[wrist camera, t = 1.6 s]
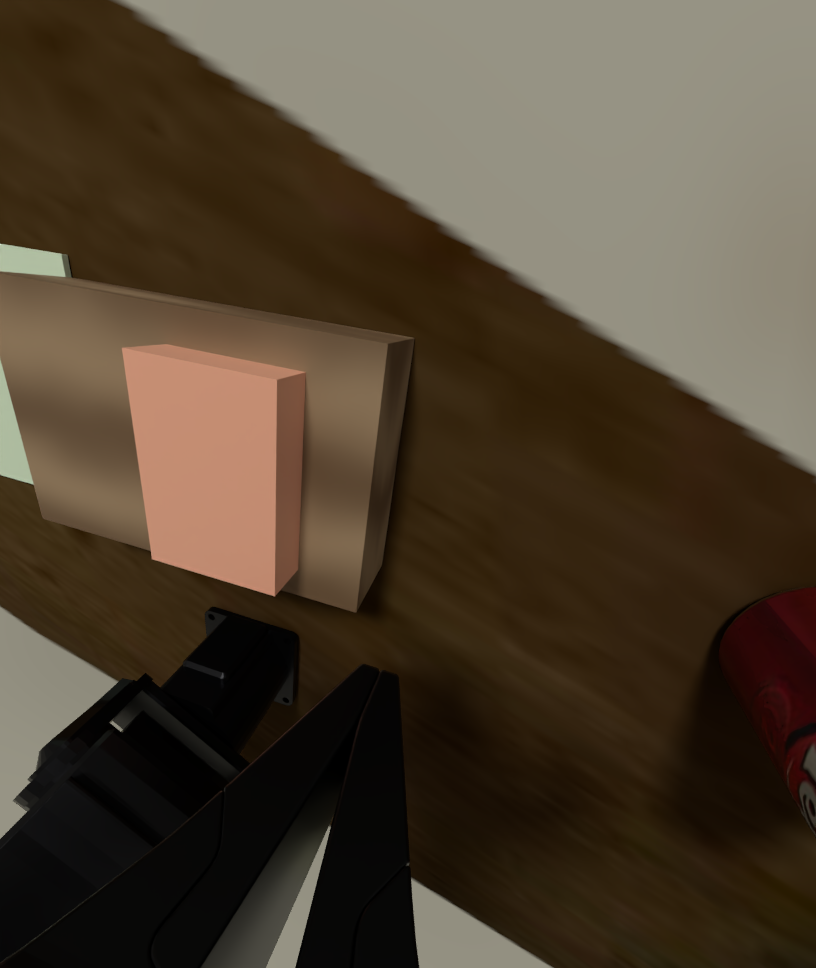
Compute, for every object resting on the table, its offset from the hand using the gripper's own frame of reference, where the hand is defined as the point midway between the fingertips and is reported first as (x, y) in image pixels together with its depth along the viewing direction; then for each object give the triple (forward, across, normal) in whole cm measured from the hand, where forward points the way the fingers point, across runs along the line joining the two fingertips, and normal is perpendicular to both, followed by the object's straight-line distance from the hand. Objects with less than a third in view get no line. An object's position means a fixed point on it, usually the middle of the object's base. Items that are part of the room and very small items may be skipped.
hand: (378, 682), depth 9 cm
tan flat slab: (+12, +12, 0) cm, 17 cm away
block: (+8, +9, 0) cm, 12 cm away
